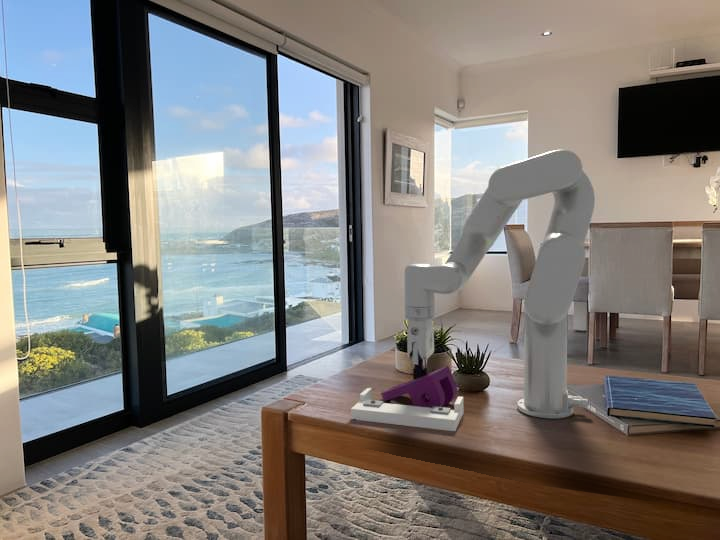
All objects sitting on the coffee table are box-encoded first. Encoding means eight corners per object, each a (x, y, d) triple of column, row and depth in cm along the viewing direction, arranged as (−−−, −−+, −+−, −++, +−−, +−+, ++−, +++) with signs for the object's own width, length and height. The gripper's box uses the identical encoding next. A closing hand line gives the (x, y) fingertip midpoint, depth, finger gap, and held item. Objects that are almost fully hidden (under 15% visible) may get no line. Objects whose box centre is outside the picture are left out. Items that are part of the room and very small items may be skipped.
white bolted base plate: (463, 413, 120) (463, 396, 120) (455, 431, 110) (455, 413, 109) (367, 403, 129) (367, 387, 128) (351, 419, 118) (350, 402, 118)
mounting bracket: (386, 428, 128) (445, 409, 118) (373, 396, 129) (430, 375, 119) (405, 416, 135) (462, 398, 126) (393, 386, 137) (448, 366, 127)
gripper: (427, 317, 121) (427, 393, 123) (440, 308, 135) (440, 376, 137) (397, 316, 124) (397, 390, 125) (413, 307, 138) (413, 374, 139)
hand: (420, 383), depth 131 cm, fingers closed
